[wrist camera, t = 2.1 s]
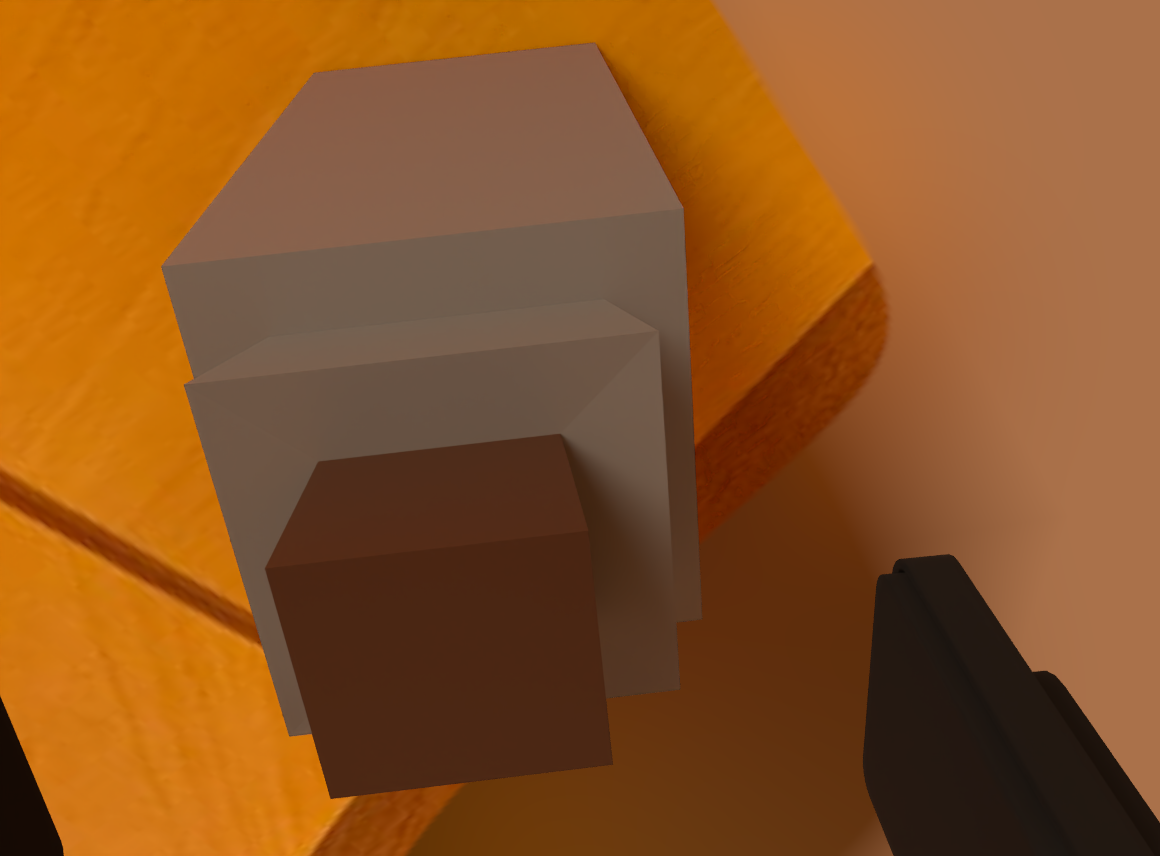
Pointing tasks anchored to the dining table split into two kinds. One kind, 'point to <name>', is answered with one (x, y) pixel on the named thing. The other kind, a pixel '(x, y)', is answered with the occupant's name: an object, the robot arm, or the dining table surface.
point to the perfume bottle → (451, 413)
